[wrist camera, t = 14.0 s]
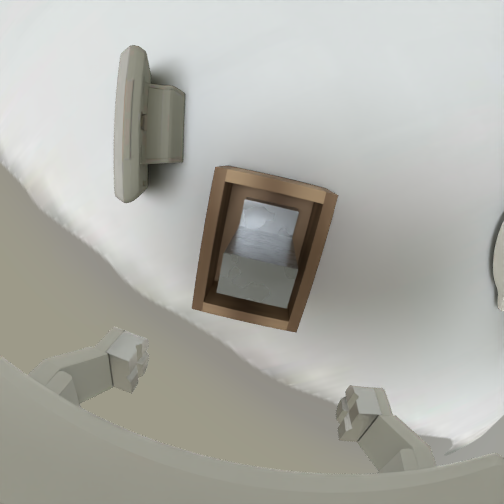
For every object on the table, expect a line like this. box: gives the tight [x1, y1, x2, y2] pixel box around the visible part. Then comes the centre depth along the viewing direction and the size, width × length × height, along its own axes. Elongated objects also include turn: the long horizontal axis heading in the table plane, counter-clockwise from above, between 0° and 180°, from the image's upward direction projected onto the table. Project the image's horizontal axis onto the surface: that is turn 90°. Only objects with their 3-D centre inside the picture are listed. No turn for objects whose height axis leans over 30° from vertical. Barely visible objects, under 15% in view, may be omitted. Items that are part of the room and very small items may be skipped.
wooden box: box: [192, 166, 338, 332], centre depth 27 cm, size 10×13×6 cm
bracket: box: [216, 197, 299, 308], centre depth 24 cm, size 5×8×10 cm, turn 168°
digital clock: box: [114, 45, 185, 203], centre depth 23 cm, size 14×8×9 cm, turn 167°
